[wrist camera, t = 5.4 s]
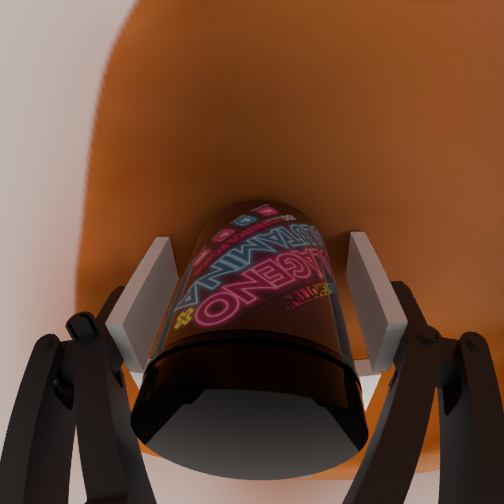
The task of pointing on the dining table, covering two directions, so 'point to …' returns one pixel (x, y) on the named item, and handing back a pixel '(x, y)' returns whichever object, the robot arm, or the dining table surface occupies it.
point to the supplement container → (254, 355)
